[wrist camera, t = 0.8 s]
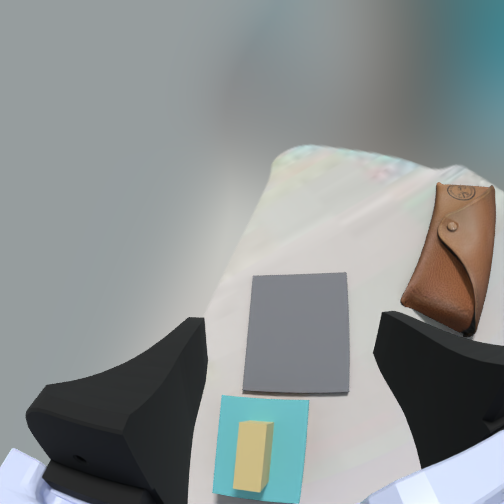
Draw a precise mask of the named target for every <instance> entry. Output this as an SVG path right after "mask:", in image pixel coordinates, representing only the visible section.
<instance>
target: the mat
mask: <svg viewBox="0 0 504 504" xmlns="http://www.w3.org/2000/svg"><path fill="white" fill-rule="evenodd" d="M349 365H350V351H349V310H348V290H347V274H346V272H344V273H322V274H296V275H265V276H253V282H252V293H251V304H250V315H249V325H248V336H247V347H246V358H245V369H244V380H243V390H248V391H263V392H288V393H331V392H349Z"/></svg>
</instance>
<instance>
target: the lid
mask: <svg viewBox="0 0 504 504" xmlns="http://www.w3.org/2000/svg"><path fill="white" fill-rule="evenodd" d="M308 411H309V400H280V399H260V398H247V397H235V396H225V395H222V399H221V409H220V419H219V429H218V439H217V449H216V459H215V470H214V481H213V492H212V493H216V494H221V495H226V496H232V497H238V498H245V499H252V500H260V501H269V502H281V503H299V502H300V495H301V487H302V479H303V470H304V460H305V449H306V438H307V425H308Z"/></svg>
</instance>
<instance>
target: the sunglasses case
mask: <svg viewBox="0 0 504 504" xmlns="http://www.w3.org/2000/svg"><path fill="white" fill-rule="evenodd" d="M495 222H496V205H495V189H494V187H493V186H492V185H491V186H490V187H479V186H465V185H443V184H441V183H440V182H438V183H437V185H436V198H435V206H434V210H433V215H432V219H431V223H430V226H429V230H428V234H427V236H426V240H425V244H424V247H423V249H422V252H421V256H420V258H419V261H418V263H417V266H416V268H415V271H414V273H413V275H412V277H411V279H410V282H409V283H408V286H407V288H406V290H405V292H404V293H403V295H402V298H401V303H402V305H404V306H405V307H409V308H412V309H414V310H416V311H418V312H420V313H422V314H424V315H426V316H428V317H430V318H432V319H434V320H436V321H438V322H440V323H442V324H444V325H446V326H448V327H449V328H452V329H454V330H455V331H458V332H461V333H464V335H463V337H470V336H472V335H473V334H475V333H476V330H477V327H478V323H479V319H480V316H481V312H482V309H483V305H484V301H485V297H486V293H487V288H488V283H489V277H490V271H491V264H492V257H493V248H494V237H495Z"/></svg>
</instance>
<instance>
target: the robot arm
mask: <svg viewBox="0 0 504 504" xmlns="http://www.w3.org/2000/svg"><path fill="white" fill-rule="evenodd" d="M373 354H374V357H375V359H376V362H377V365H378V367H379V369H380V372H381V373H382V375H383V377H384V379H385V381H386V382H387V384H388V386H389V387H390V389H391V391H392V393H393V394H394V396H395V398H396V399H397V401H398V403H399V405H400V406H401V408H402V410H403V412H404V414H405V417H406V419H407V422H408V425H409V427H410V430H411V433H412V436H413V439H414V442H415V445H416V448H417V452H418V456H419V460H420V464H421V470H419V471H417V472H414V473H412V474H410V475H408V476H405V477H403V478H401V479H398V480H396V481H394V482H392V483H390V484H389V485H387V486H385V487H383V488H382V489H380V490H378V491H376V492H374V493H373V494H371V495H369V496H368V497H367V498H366V499H365V500H363V501H362V502H360V503H356V504H504V346H500V345H493V344H487V343H482V342H477V341H473V340H470V339H466V338H463V337H459V336H456V335H453V334H451V333H448V332H446V331H443V330H440V329H438V328H436V327H433V326H431V325H429V324H426V323H424V322H422V321H420V320H417V319H415V318H413V317H410V316H408V315H405V314H403V313H400V312H396V311H388V312H382V315H381V320H380V325H379V329H378V334H377V338H376V343H375V347H374V351H373ZM207 364H208V356H207V345H206V333H205V321H204V318H196V317H189V318H187V319H186V320H185V321H184V322H182V323H181V324H180V325H179V326H178V327H177V328H175V329H174V330H173V331H172V332H171V333H169V334H168V335H167V336H166V337H165V338H163V339H162V340H160V341H159V342H158V343H156V344H155V345H153V346H152V347H151V348H149V349H148V350H147V351H145V352H143V353H142V354H140V355H138V356H137V357H135V358H133V359H131V360H129V361H128V362H125V363H123V364H121V365H119V366H116V367H114V368H112V369H109V370H107V371H104V372H102V373H99V374H96V375H93V376H89V377H86V378H82V379H78V380H74V381H69V382H62V383H56V384H50V385H46V387H45V388H44V389H43V390H42V391H41V393H40V394H39V395H38V397H37V398H36V399H35V400H34V402H33V403H32V404H31V406H30V407H29V408H28V410H27V411H26V420H27V424H28V427H29V429H30V431H31V432H32V434H33V436H34V437H35V438H36V440H37V441H38V443H39V444H40V446H41V447H42V448H43V449H44V451H45V452H46V454H47V455H48V456H49V458H50V459H51V461H50V462H49V464H48V466H46V465H44V464H43V463H41V462H40V461H39V460H37V459H35V458H33V457H31V456H29V455H27V454H25V453H23V452H21V451H19V450H17V449H15V448H12V449H11V451H10V453H9V454H8V456H7V457H6V459H5V460H4V462H3V464H2V465H1V467H0V504H188V483H189V469H190V458H191V448H192V439H193V432H194V426H195V422H196V418H197V414H198V410H199V406H200V402H201V398H202V394H203V390H204V386H205V382H206V374H207Z"/></svg>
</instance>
